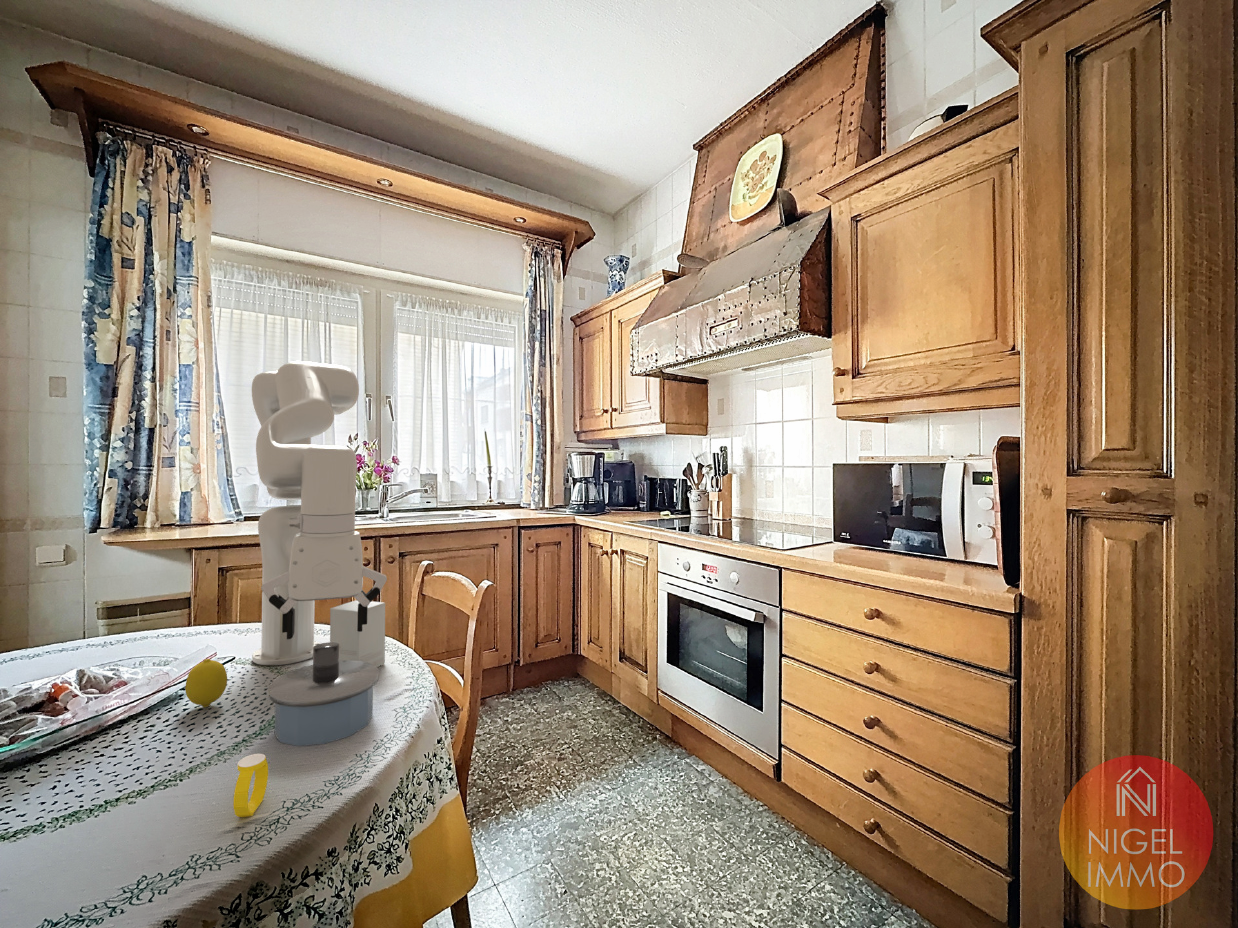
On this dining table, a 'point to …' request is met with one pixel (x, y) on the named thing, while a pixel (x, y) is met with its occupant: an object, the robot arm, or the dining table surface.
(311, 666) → the lid
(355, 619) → the supplement box
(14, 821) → the dining table surface
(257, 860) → the dining table surface
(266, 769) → the watch
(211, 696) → the lemon
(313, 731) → the bowl
